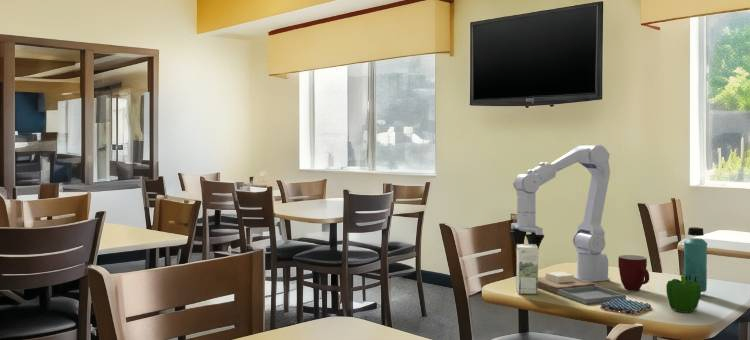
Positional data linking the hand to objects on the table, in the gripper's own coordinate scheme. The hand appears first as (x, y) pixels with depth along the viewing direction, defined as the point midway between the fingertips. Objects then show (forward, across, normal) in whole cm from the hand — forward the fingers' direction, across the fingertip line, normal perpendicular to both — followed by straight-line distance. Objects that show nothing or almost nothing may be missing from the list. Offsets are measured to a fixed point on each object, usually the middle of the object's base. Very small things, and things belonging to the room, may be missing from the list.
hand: (526, 254), depth 210 cm
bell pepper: (+10, +43, +21) cm, 48 cm away
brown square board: (+10, +8, +8) cm, 15 cm away
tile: (+8, +6, +8) cm, 13 cm away
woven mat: (+10, +36, +8) cm, 38 cm away
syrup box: (+10, +9, -6) cm, 15 cm away
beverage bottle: (+10, +31, +38) cm, 50 cm away
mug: (+10, +20, +26) cm, 34 cm away
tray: (+10, +21, +8) cm, 25 cm away
